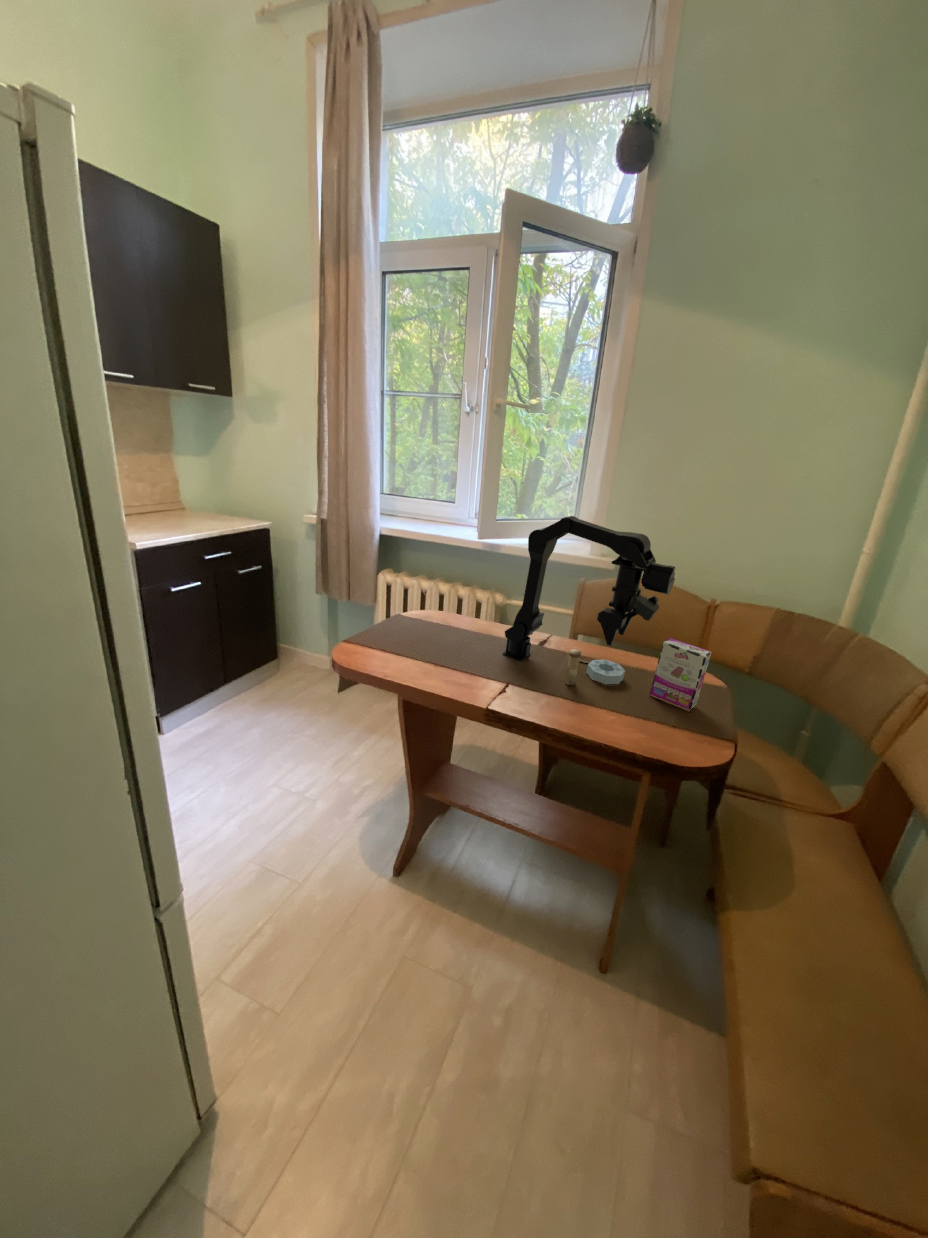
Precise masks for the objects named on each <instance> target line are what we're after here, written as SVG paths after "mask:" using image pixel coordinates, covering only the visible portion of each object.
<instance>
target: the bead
mask: <svg viewBox="0 0 928 1238" xmlns="http://www.w3.org/2000/svg"><path fill="white" fill-rule="evenodd" d="M589 662H590V663H589V664H587V667H586V672H585V674H586V673H587V674H588V675H589V676H590V677H589V676H588V675H587V674H586V675H587V676H588V677H589V679H590V678H591V679H592V680H596V681H599V682H601V683H604V684H619V683H620V682H621V681H622V682H623V680H624V678H625V672H626V670H625V669H624V668H623V667H622V666H621V665H620V663H617V662H614V661H612V660H608V659H592V660H591V661H589ZM591 679H590V680H591ZM592 680H591V681H592ZM620 684H621V683H620ZM620 684H619V685H620Z"/></svg>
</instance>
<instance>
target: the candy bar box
mask: <svg viewBox="0 0 928 1238" xmlns="http://www.w3.org/2000/svg"><path fill="white" fill-rule="evenodd" d="M711 658H712V651H710V650H707V649H704V648H701V647H698V646H695V645H692V644H690V643H686V642H685V641H684V642H683V641H680V640H677V639H675V638H672V637H669V638H667V639H666V640H664V641H663V642H662V644H661V648H660V652H659V655H658V660H657V664H656V668H655V672H654V675H653V681H652V684H651V688H650V691H649V696H650V695H654V696H656V697H658V698H662V699H664V700H667V701H669V702H672V703H674V704H676V705H680V706H682V707H685V708H688V709H690V710H691V709H692V708H693V707H694V706H695V705H696V706H697V705H698V704H697V703H698V701H699V698H700V693H701V690H702V687H703V684H704V680H705V676H706V674H707V670H708V668H709V667H708V666H709V664H710V661H711ZM691 711H692V710H691Z"/></svg>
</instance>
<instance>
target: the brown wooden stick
mask: <svg viewBox="0 0 928 1238" xmlns="http://www.w3.org/2000/svg"><path fill="white" fill-rule="evenodd" d="M581 662H584V663H583V664H585V663H588V664H589V663H590V662H591V661H587V660H584V659H581V658H580V660H579V663H581ZM588 664H587V665H588Z"/></svg>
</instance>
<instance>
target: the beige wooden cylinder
mask: <svg viewBox="0 0 928 1238" xmlns="http://www.w3.org/2000/svg"><path fill="white" fill-rule="evenodd" d="M581 655H582V651H581V650H579V649H576V648H571V649H570V651H569V657H568V661H567V669H566V672H565V679H564V684H565V683H566V684H567V685H566V684H565V685H566V686H568V685H574V684H576V680H577V676H578V675H577V674H578V670H579V664H580V662H579V660H580V659H581ZM574 686H575V685H574Z"/></svg>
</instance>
